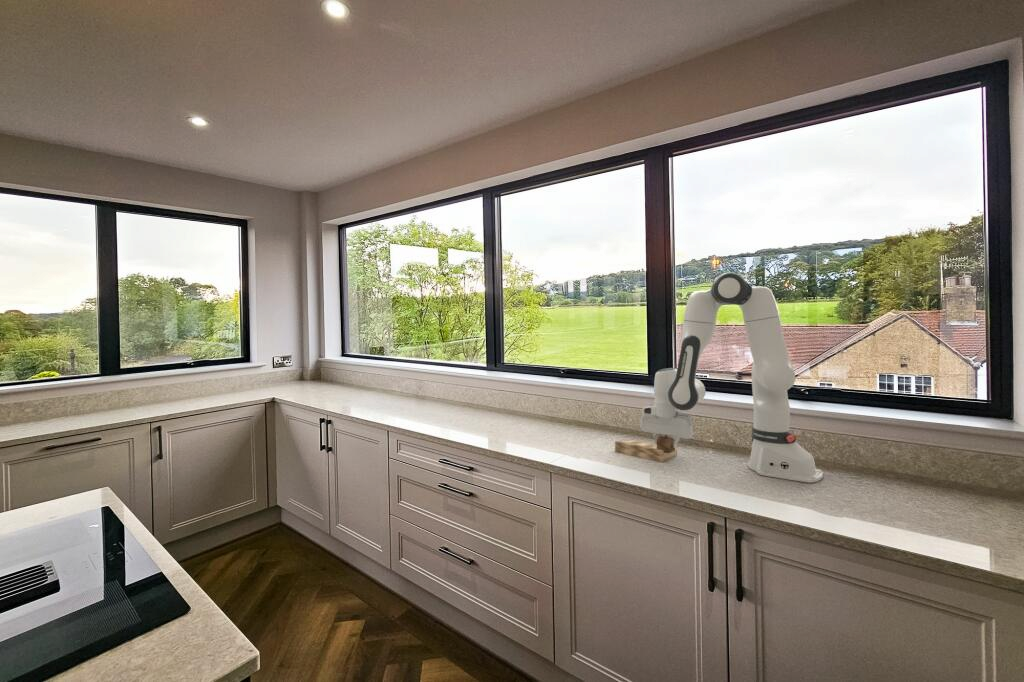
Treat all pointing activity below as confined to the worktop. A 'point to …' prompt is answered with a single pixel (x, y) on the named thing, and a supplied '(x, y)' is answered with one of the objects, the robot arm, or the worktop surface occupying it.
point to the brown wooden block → (665, 443)
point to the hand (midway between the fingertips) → (665, 446)
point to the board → (643, 450)
